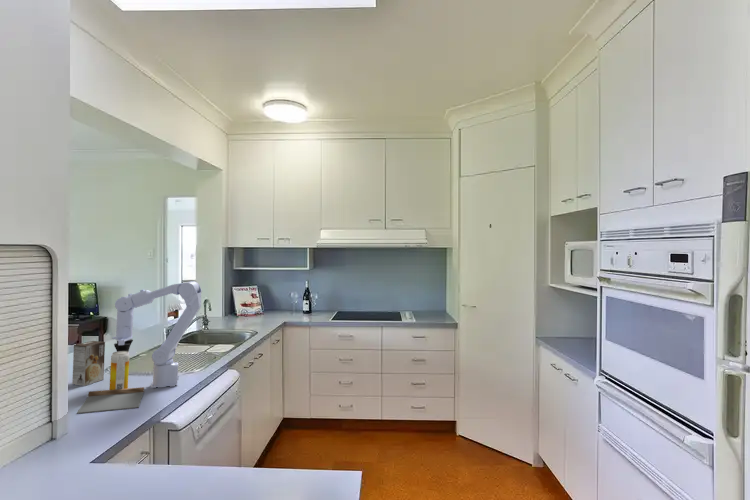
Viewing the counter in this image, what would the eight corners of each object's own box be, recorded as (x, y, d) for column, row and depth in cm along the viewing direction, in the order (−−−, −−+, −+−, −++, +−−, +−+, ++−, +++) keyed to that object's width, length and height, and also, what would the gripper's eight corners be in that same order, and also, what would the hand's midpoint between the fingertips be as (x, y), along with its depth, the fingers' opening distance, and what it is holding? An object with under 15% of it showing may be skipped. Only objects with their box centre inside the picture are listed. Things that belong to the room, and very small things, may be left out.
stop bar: (144, 391, 161) (144, 387, 161) (143, 392, 160) (143, 388, 160) (88, 396, 154) (89, 391, 154) (88, 397, 153) (88, 392, 153)
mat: (143, 392, 160) (143, 391, 160) (138, 407, 145) (138, 406, 145) (88, 397, 153) (88, 396, 153) (76, 413, 137) (76, 412, 137)
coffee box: (91, 378, 175) (93, 340, 175) (104, 379, 174) (106, 341, 174) (71, 384, 166) (73, 344, 166) (84, 386, 165) (86, 345, 165)
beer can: (125, 387, 165) (127, 350, 165) (129, 391, 161) (131, 353, 161) (107, 390, 161) (109, 352, 161) (111, 394, 156) (113, 355, 157)
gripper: (116, 323, 173) (114, 355, 173) (109, 329, 160) (108, 364, 160) (135, 322, 176) (133, 354, 176) (130, 328, 163) (129, 363, 163)
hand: (122, 359), depth 168 cm, fingers open, 4 cm apart
